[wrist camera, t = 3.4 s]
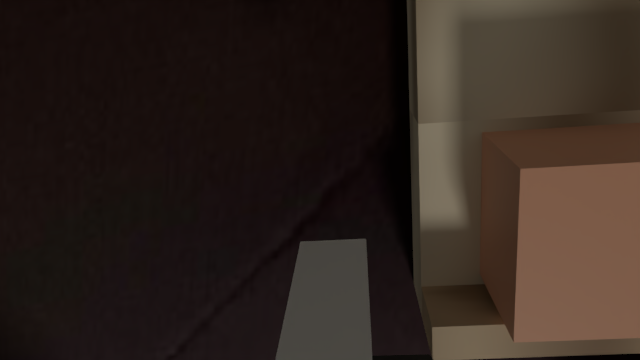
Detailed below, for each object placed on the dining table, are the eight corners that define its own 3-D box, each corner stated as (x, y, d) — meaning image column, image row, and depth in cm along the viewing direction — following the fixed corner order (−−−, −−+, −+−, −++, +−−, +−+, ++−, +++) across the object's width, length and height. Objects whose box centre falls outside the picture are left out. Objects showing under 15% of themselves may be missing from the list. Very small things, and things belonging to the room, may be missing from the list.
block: (479, 274, 19) (513, 342, 15) (482, 132, 17) (520, 169, 14) (660, 265, 18) (741, 334, 15) (679, 120, 17) (775, 154, 13)
